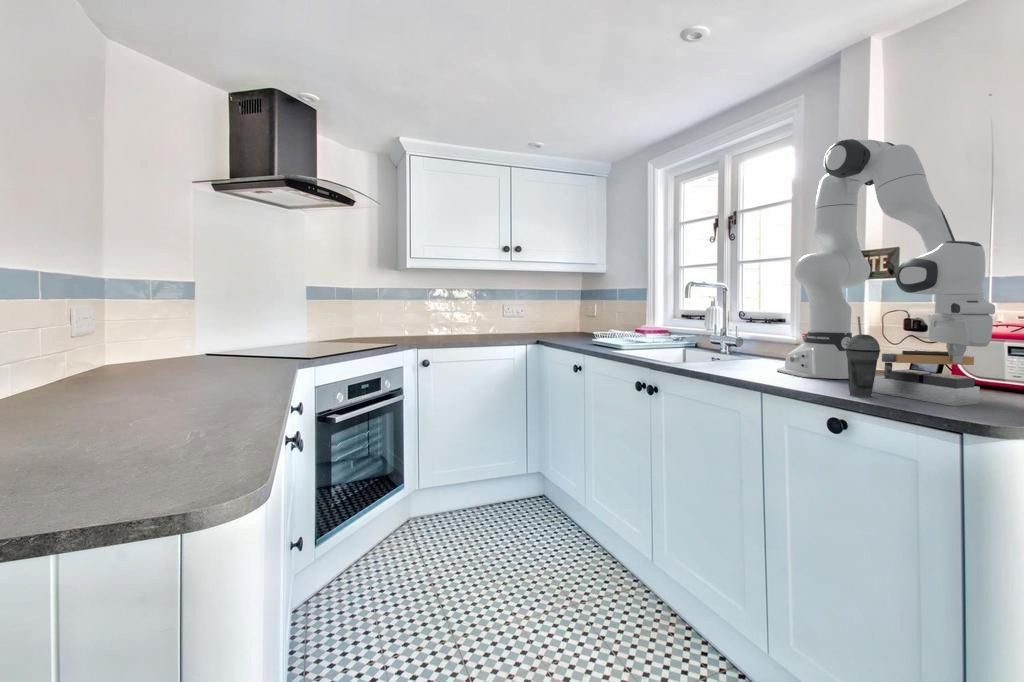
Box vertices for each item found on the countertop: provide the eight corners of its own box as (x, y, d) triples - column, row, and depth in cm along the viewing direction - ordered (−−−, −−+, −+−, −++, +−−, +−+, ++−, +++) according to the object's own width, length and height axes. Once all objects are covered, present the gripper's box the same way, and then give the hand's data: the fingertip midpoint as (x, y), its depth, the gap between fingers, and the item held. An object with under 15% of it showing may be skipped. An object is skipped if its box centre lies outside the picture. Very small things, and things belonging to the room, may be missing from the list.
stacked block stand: (868, 391, 132) (869, 362, 131) (890, 389, 134) (891, 361, 134) (954, 406, 113) (956, 372, 112) (978, 404, 115) (980, 371, 115)
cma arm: (885, 362, 129) (885, 350, 129) (878, 360, 133) (879, 349, 133) (973, 365, 123) (974, 353, 123) (963, 363, 127) (964, 351, 127)
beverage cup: (876, 399, 120) (880, 317, 119) (840, 395, 125) (844, 316, 124) (879, 395, 126) (884, 316, 124) (845, 392, 131) (849, 315, 129)
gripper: (922, 306, 133) (919, 358, 134) (966, 306, 114) (962, 366, 115) (951, 306, 131) (948, 358, 132) (1000, 306, 112) (996, 367, 113)
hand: (955, 362), depth 123 cm, fingers closed
